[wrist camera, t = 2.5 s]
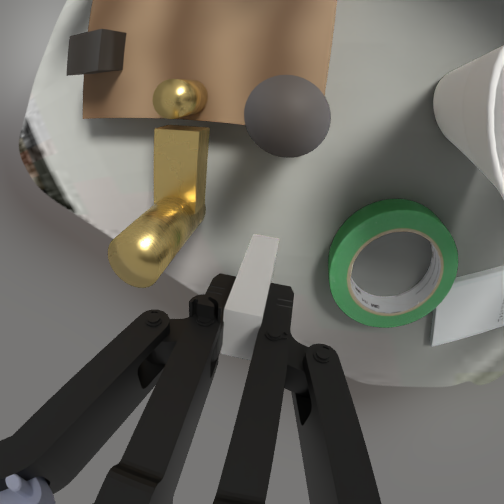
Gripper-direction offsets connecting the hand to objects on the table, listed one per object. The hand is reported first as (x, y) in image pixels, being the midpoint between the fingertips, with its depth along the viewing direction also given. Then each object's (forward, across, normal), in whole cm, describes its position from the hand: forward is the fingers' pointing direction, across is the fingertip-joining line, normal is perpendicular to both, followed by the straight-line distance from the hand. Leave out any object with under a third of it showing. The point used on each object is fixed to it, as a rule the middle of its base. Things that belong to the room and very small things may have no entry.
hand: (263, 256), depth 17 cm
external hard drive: (+8, +23, -5) cm, 25 cm away
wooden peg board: (+7, -7, +16) cm, 19 cm away
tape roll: (+7, +10, -2) cm, 13 cm away
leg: (+4, -6, +4) cm, 9 cm away
